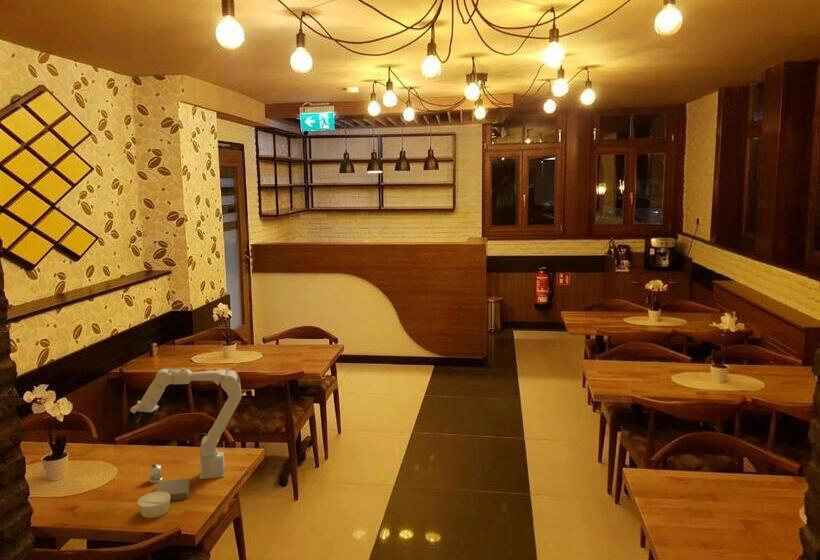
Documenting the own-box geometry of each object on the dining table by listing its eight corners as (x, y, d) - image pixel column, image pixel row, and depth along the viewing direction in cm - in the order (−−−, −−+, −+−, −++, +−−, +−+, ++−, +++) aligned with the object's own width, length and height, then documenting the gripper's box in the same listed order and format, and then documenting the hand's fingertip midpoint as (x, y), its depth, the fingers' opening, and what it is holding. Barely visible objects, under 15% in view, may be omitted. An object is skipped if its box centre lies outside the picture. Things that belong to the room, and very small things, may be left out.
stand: (190, 484, 254) (190, 478, 254) (187, 498, 242) (186, 492, 242) (158, 487, 251) (158, 481, 251) (153, 502, 240) (153, 496, 239)
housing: (164, 476, 261) (162, 461, 260) (162, 482, 256) (160, 466, 255) (150, 478, 260) (149, 462, 259) (148, 483, 255) (146, 468, 254)
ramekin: (138, 522, 226) (137, 509, 225) (138, 508, 236) (137, 494, 235) (172, 516, 230) (171, 502, 230) (170, 501, 240) (169, 488, 240)
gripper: (155, 390, 260) (138, 419, 261) (132, 392, 246) (114, 422, 247) (168, 400, 259) (151, 428, 259) (145, 402, 245) (127, 432, 245)
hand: (134, 426), depth 253 cm, fingers open, 7 cm apart
